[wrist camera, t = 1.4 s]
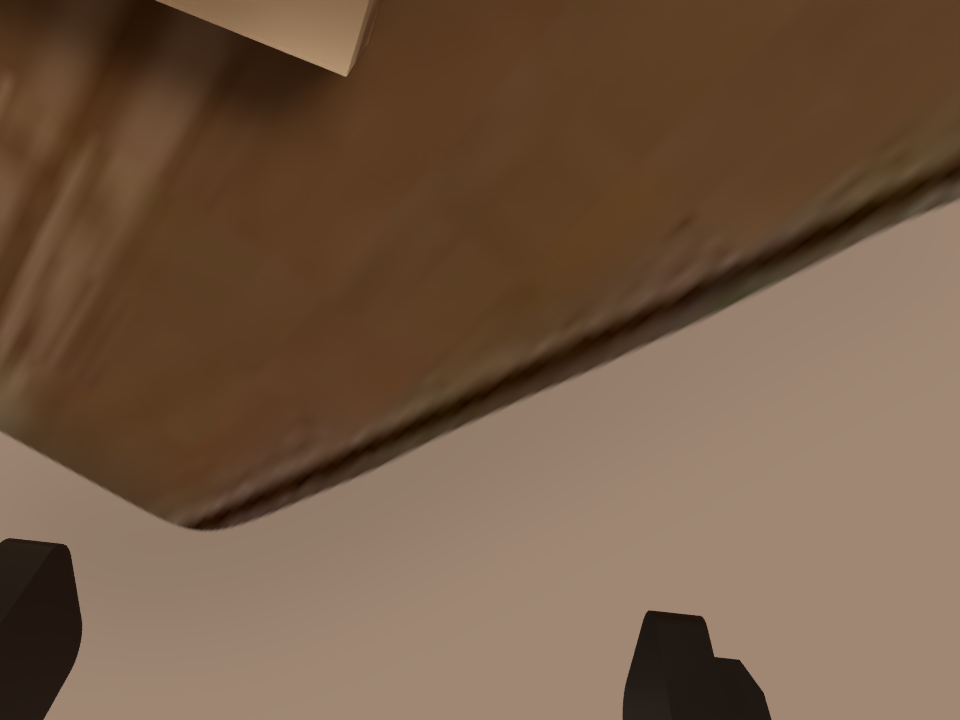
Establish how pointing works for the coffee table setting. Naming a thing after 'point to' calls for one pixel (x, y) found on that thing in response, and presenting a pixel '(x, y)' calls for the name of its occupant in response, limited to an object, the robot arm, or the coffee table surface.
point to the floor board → (296, 26)
